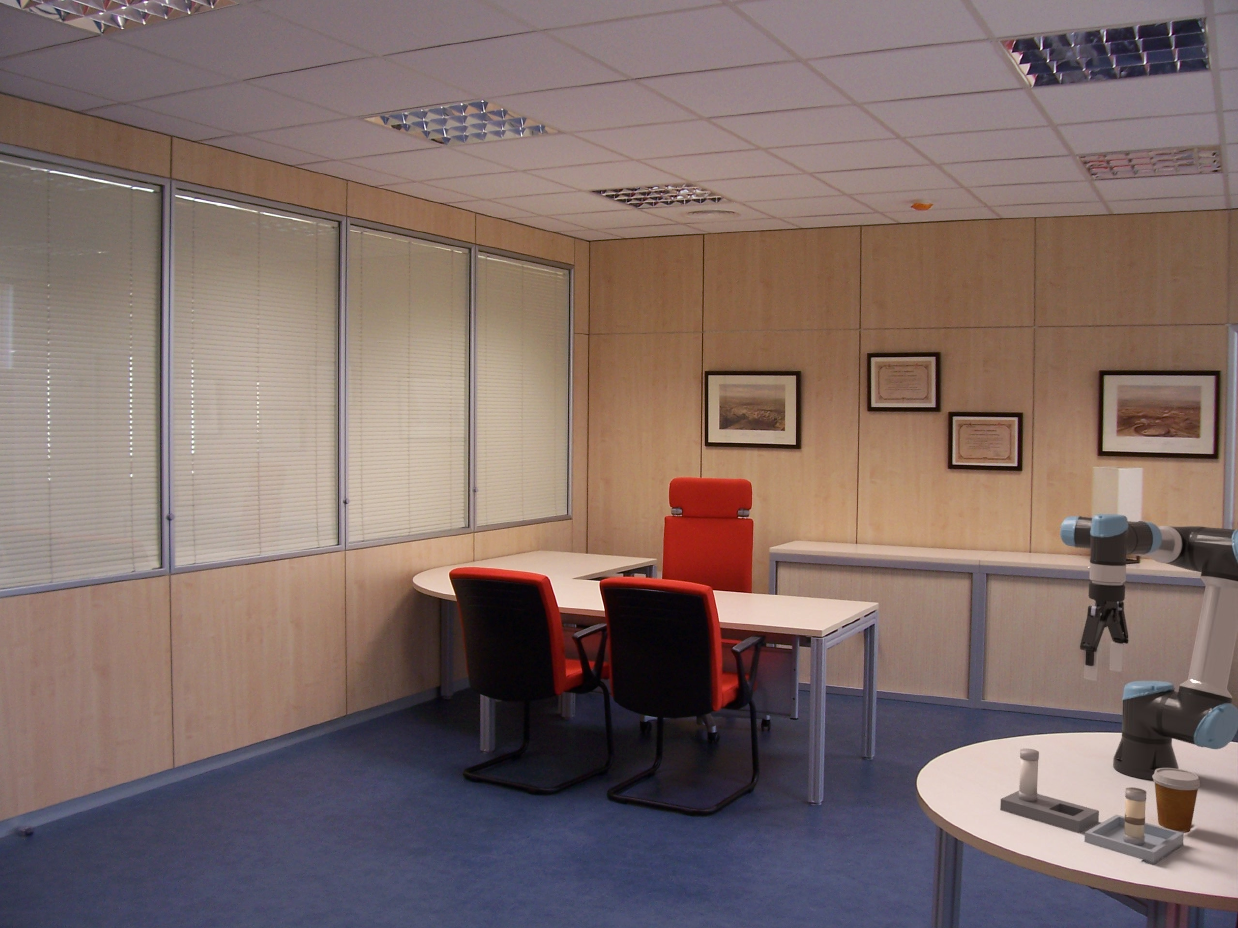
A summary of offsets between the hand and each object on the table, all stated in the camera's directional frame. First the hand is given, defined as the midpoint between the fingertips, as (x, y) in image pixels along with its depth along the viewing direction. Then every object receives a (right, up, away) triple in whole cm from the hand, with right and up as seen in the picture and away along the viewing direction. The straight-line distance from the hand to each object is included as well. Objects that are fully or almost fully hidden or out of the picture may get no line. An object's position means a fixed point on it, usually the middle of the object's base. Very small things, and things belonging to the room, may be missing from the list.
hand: (1103, 675), depth 245 cm
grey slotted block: (-14, -32, -3) cm, 34 cm away
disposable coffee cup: (+13, -33, -7) cm, 35 cm away
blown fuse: (-1, -32, -17) cm, 36 cm away
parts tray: (-1, -32, -17) cm, 37 cm away
